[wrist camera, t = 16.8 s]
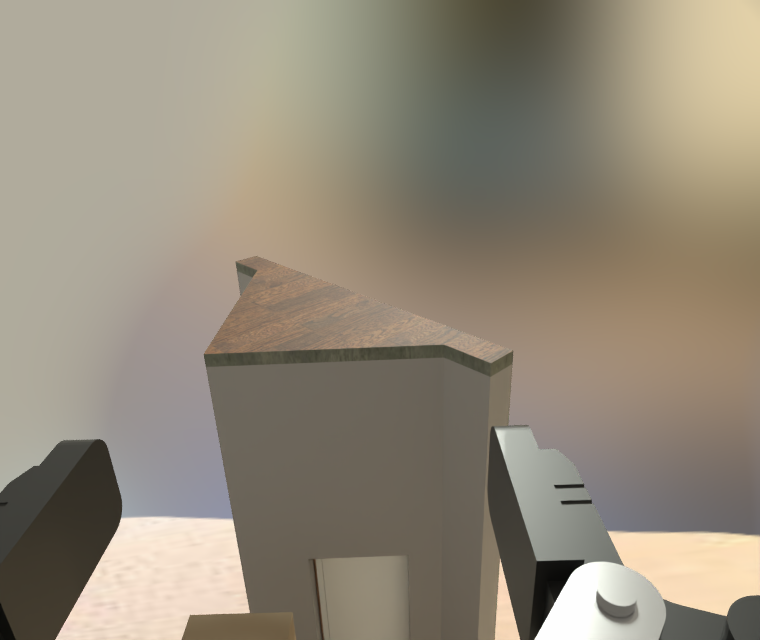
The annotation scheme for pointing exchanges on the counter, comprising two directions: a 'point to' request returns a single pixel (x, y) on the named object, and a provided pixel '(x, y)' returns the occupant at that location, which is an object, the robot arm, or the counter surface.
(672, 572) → the counter surface
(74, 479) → the robot arm
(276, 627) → the pillar
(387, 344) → the cabinet
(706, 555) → the counter surface
